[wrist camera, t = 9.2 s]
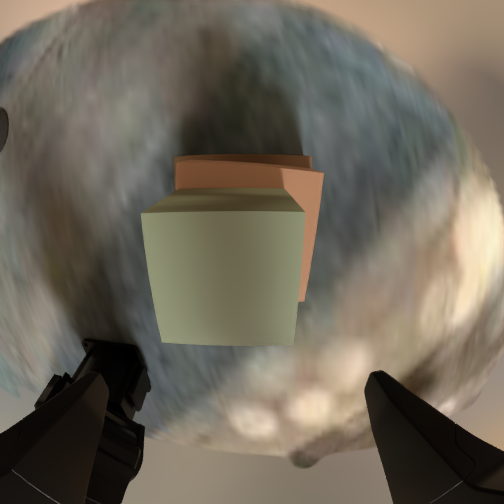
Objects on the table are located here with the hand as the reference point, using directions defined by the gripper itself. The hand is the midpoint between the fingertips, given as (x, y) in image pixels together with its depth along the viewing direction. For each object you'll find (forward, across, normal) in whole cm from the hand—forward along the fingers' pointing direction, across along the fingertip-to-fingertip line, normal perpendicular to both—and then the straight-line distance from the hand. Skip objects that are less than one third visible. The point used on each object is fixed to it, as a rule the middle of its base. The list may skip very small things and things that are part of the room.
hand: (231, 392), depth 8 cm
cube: (+7, 0, -3) cm, 8 cm away
